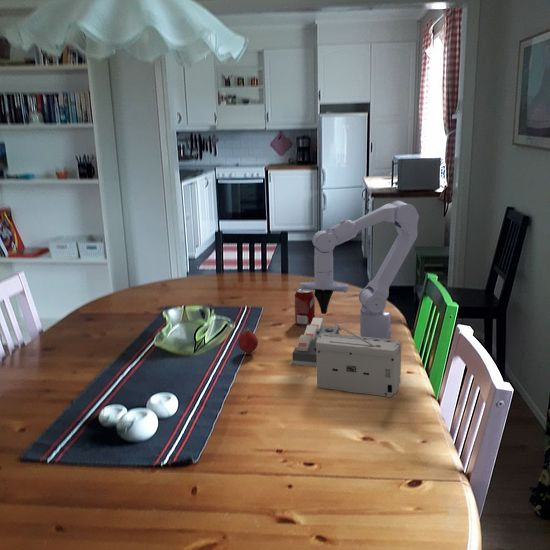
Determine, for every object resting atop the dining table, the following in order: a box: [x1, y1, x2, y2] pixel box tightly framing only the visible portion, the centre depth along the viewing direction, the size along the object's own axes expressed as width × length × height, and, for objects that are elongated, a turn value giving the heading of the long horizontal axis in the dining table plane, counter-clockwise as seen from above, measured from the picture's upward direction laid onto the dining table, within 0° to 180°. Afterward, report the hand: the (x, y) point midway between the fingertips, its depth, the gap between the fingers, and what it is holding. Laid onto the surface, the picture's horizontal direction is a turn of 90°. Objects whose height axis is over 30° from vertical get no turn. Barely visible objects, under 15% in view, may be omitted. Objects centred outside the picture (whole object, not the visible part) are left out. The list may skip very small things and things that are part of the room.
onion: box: [237, 328, 259, 355], centre depth 166 cm, size 6×6×8 cm
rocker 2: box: [311, 317, 324, 332], centre depth 177 cm, size 3×6×1 cm, turn 163°
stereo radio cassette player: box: [316, 314, 402, 398], centre depth 141 cm, size 21×8×20 cm, turn 70°
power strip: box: [290, 324, 341, 368], centre depth 170 cm, size 9×27×4 cm, turn 163°
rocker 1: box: [295, 334, 312, 351], centre depth 162 cm, size 3×6×1 cm, turn 163°
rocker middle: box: [303, 325, 318, 342], centre depth 170 cm, size 3×6×1 cm, turn 163°
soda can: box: [294, 287, 316, 327], centre depth 191 cm, size 7×7×12 cm
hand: (324, 312), depth 173 cm, fingers closed
